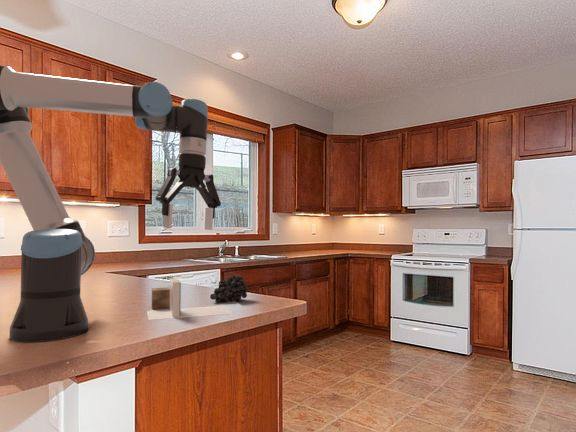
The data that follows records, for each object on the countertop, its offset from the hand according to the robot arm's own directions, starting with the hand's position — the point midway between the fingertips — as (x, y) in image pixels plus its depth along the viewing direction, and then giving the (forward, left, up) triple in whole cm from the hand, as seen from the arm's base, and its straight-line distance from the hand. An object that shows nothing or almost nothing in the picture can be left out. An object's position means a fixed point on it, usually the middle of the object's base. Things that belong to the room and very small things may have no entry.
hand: (188, 229), depth 111 cm
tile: (-4, -2, -23) cm, 23 cm away
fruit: (+14, +13, -24) cm, 31 cm away
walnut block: (-7, +9, -24) cm, 26 cm away
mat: (0, -2, -24) cm, 24 cm away
